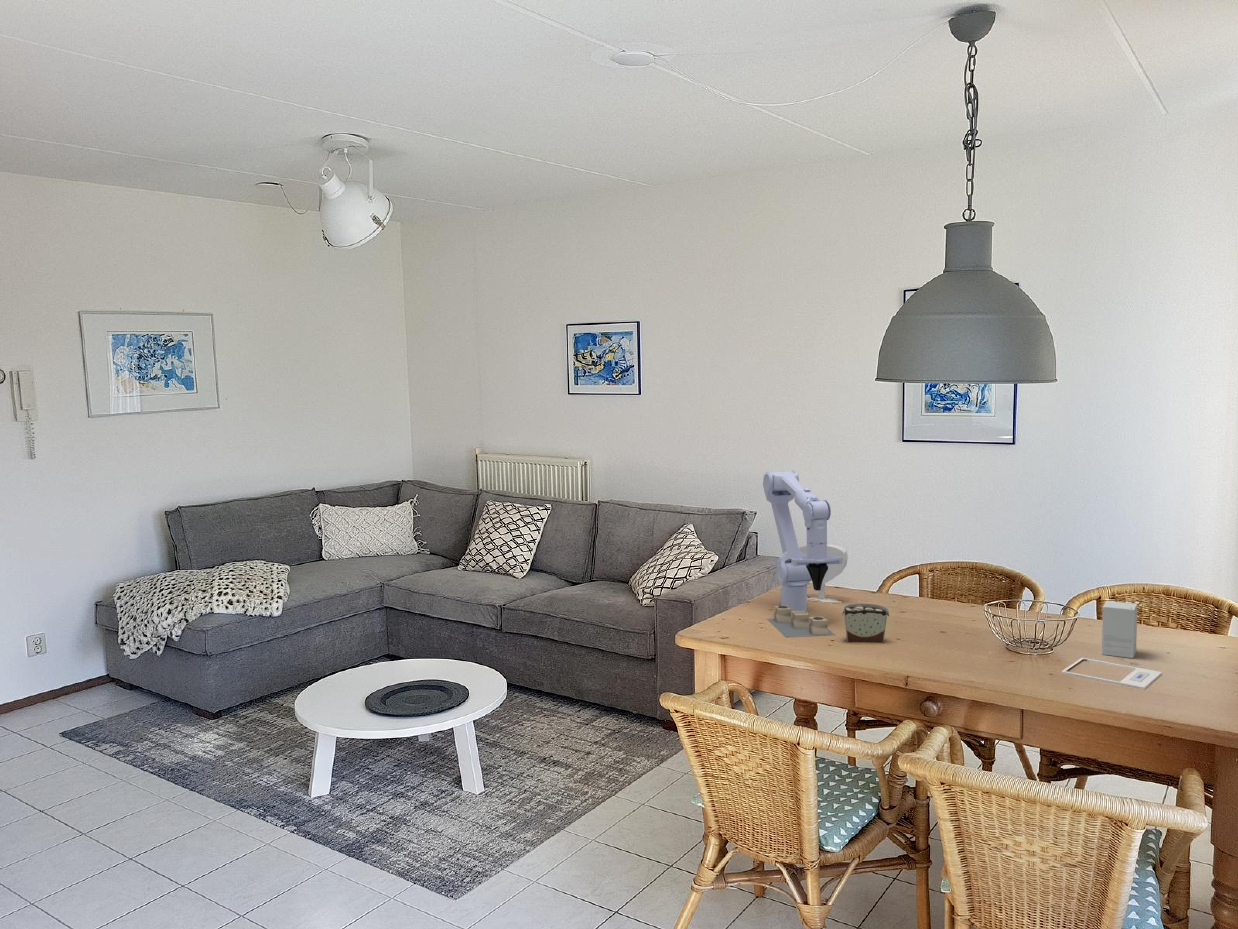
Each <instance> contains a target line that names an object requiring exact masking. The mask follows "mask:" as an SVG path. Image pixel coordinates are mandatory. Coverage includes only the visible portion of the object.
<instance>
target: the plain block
mask: <svg viewBox="0 0 1238 929" xmlns="http://www.w3.org/2000/svg"><path fill="white" fill-rule="evenodd" d="M809 617H810V613H808V611H807V612H806V611H791V625H792V626H793V627H794V628H795V629H803V628H809Z"/></svg>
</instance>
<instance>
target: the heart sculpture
mask: <svg viewBox="0 0 1238 929" xmlns="http://www.w3.org/2000/svg"><path fill="white" fill-rule="evenodd" d="M799 551H801V552H802V553H804V554H806V555H807V544H804V545H802V546H800V547H799ZM827 556H829V557H842V558H843V564H827V566H828V570H827V572H826V574H825V576H824V578H823V581H822V585H821V590H817V591H818V593H817V594H818V596H809V597H810V598H808V599H815V600H820V601H822V602H821V603H826V602H827V603H828V602H839V601H837V600H838V599H835V598H829V597H826V584H827V583H828V582H830V581H832V580H833V579H835V578H836V577H838V576H839V575H840V574H842V573H843V572H844V570H845V568H846V566H847V563H848V559H849V558H848V552H847V550H846V549H845V548H844V547H842V546H840V545H836V544H827Z"/></svg>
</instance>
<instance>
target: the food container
mask: <svg viewBox="0 0 1238 929" xmlns="http://www.w3.org/2000/svg"><path fill="white" fill-rule="evenodd" d="M841 616H842V617H843V616H844V625H845V634H846V643H867V644H868V643H871V644H872V643H875V644H876V643H879V644H880V643H881V644H882V643H883V644H884V642H885V635H886V627H887V618H888V617H890V613H889V610H888V608H887V607H886V606H883V605H879V604H873V603H852V604H847V605H844V607H843V609H842V613H841Z"/></svg>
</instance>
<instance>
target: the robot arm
mask: <svg viewBox="0 0 1238 929" xmlns="http://www.w3.org/2000/svg"><path fill="white" fill-rule="evenodd" d="M762 481H763V482H762V486H763V491H764V492H763V493H764V495H765V499H766V501H767V502H769V503H770V505H771V509H772V512H773V517H774V521H775V525H776V530H777V533H778V534H777V535H778V537H779V538H778V539H779V542H780V547H781V550H782V555H780V556H779V557H778V558H777V560H776V564H775V565H776V577H777V580H778V582H779V583H780V584H781V588H780V606H784V605H788V606H789V607H790V608H791V609H792V611H806V612H807V613H808V601H807V597H808V586H809V585H810V582H812V587H813V590H815V591H818V590H821V585H822V581H823V578H824V576H825V574H826V572H827V570H828V566H827V564H843V558H842V557H829V556H827V545H828V521H829V520H830V518H831V515H832V511H831V505H830V503H829V501H828V500H827V499H820V498H818V496H817V495H815V493H813V492H812V491H811V489H810V488H807V487H806V488H805V487H803V485H802V484H801V483H800V478H799V474H798V473H797V471H796V470H787V471H786V470H785V471H766V472H765V473H764V475H763V478H762ZM792 500H794V503H795V504H796V505H797V506H798V508H799V509H801V511H802V516H803V520H804V527H805V528H806V545H807V555H806V554H804V553H802V552H801V551H799V548H800V547H799V544H798V540H797V539H798V538H797V535H796V531H795V527H794V523H793V519H792V514H791V511H790V507H789V502H791V501H792Z"/></svg>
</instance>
